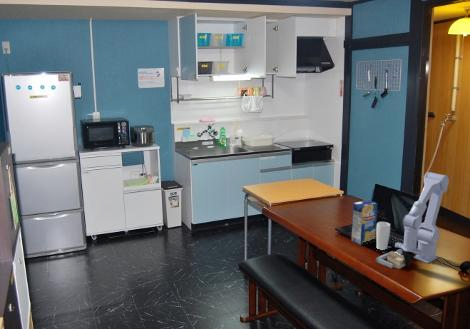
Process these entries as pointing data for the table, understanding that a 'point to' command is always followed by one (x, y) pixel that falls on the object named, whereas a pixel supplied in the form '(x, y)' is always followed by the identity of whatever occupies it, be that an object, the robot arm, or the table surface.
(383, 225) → the drinking glass
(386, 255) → the bracket
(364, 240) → the beverage box
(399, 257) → the t block
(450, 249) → the table surface
